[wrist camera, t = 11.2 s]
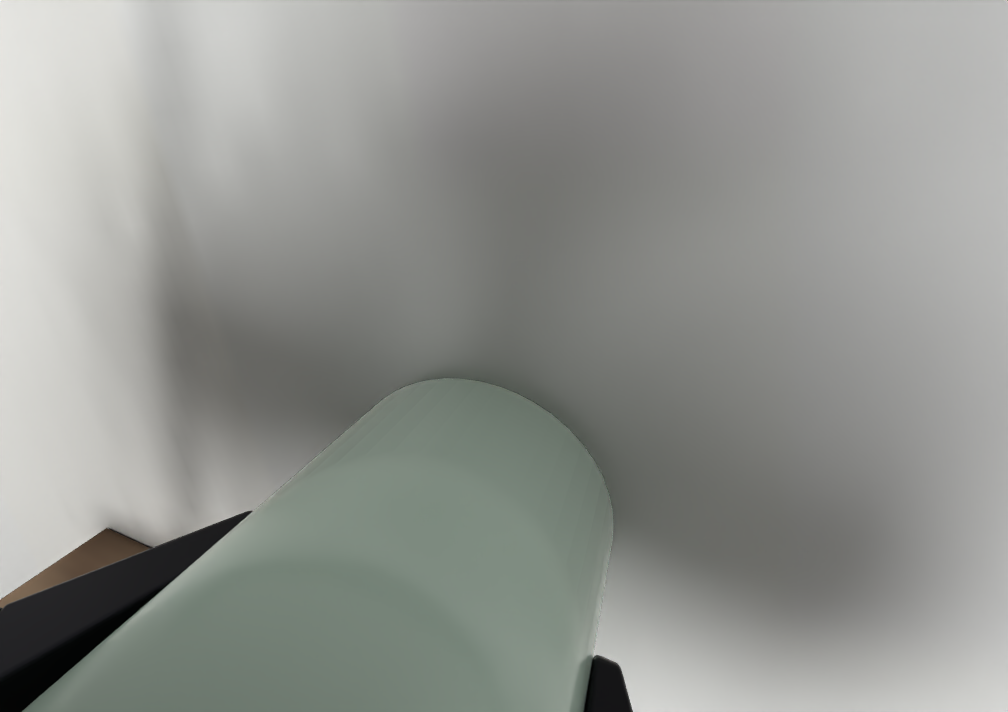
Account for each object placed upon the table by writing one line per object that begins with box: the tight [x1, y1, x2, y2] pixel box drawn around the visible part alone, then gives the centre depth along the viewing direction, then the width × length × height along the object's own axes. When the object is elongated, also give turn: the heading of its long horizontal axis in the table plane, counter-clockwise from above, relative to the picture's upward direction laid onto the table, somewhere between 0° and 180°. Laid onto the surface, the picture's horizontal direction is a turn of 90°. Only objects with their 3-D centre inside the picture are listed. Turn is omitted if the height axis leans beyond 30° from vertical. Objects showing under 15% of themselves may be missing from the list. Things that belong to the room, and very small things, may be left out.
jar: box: [22, 378, 614, 712], centre depth 7 cm, size 6×6×9 cm
